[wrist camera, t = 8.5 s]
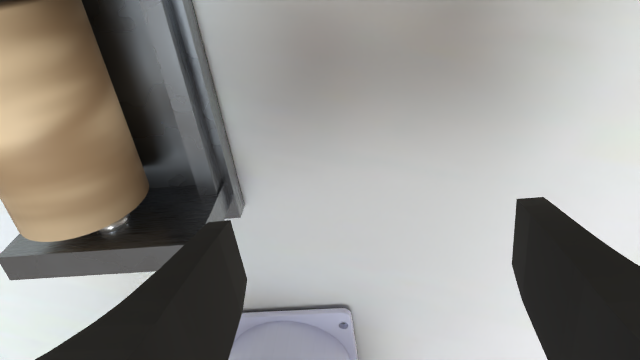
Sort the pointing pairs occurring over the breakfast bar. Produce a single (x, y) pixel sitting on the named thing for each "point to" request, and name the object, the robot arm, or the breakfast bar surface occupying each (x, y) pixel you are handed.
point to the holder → (150, 145)
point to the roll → (61, 126)
